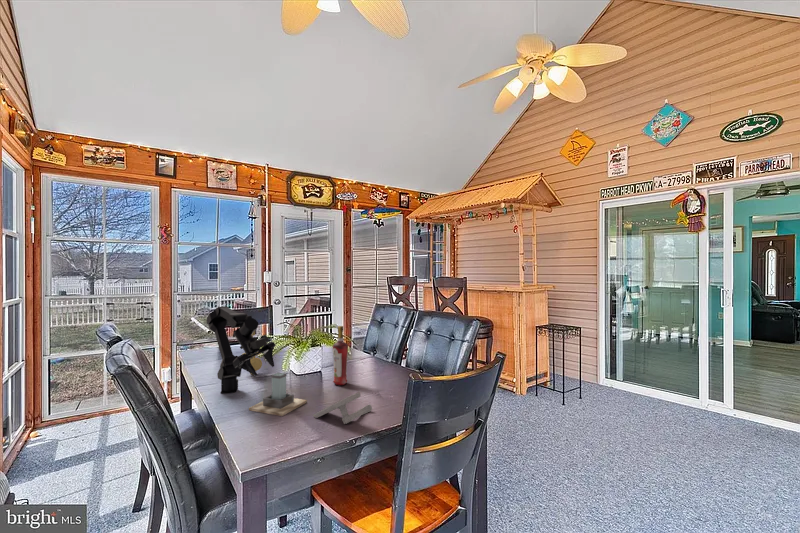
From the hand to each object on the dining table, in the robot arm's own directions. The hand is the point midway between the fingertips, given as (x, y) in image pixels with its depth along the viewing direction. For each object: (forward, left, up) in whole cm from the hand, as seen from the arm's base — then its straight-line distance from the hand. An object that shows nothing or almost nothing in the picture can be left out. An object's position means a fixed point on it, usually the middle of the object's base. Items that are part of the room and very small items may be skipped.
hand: (265, 370), depth 164 cm
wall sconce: (-7, +44, -13) cm, 46 cm away
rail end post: (+5, -8, -12) cm, 15 cm away
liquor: (+34, +14, -13) cm, 39 cm away
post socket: (+5, -8, -13) cm, 16 cm away
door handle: (+29, -26, -13) cm, 42 cm away
